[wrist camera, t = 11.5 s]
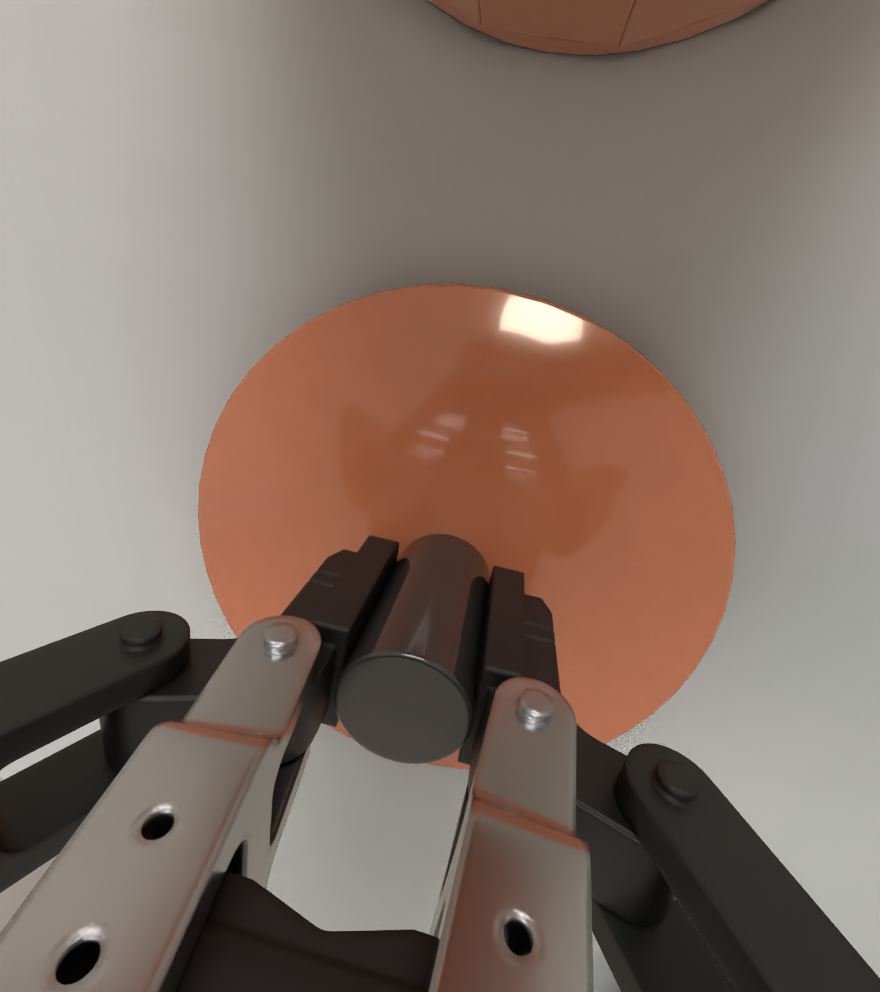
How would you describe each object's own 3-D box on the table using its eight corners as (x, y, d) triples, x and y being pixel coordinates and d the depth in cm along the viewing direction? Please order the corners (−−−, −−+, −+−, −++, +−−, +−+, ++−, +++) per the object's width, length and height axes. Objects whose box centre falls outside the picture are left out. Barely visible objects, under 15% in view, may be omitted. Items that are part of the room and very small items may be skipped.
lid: (224, 237, 11) (-50, 160, 6) (820, 353, 10) (1168, 390, 5) (222, 675, 16) (77, 848, 11) (614, 783, 15) (665, 1036, 10)
